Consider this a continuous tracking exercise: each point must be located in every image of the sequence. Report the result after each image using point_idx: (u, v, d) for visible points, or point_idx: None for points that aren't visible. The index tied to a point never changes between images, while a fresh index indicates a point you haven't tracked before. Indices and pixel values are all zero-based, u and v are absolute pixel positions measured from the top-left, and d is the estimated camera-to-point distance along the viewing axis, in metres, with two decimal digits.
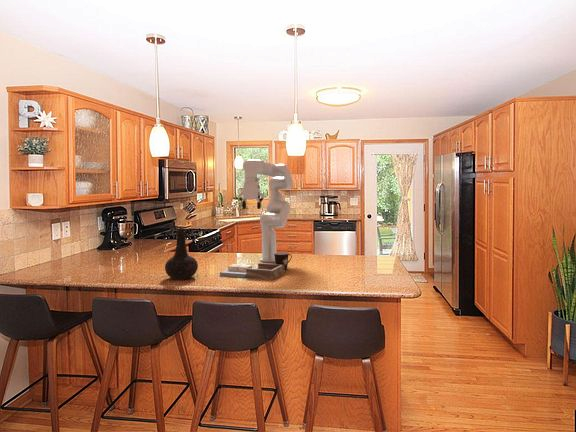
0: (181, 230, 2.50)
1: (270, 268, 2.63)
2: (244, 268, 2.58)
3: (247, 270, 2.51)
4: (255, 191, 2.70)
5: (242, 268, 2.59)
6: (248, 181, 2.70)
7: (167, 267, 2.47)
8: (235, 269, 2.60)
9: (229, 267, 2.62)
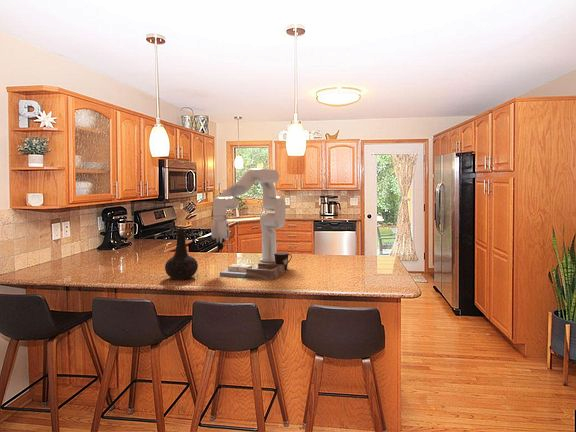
0: (181, 230, 2.50)
1: (270, 268, 2.63)
2: (244, 268, 2.58)
3: (247, 270, 2.51)
4: (223, 230, 2.61)
5: (242, 268, 2.59)
6: (216, 220, 2.61)
7: (167, 267, 2.47)
8: (235, 269, 2.60)
9: (229, 267, 2.62)
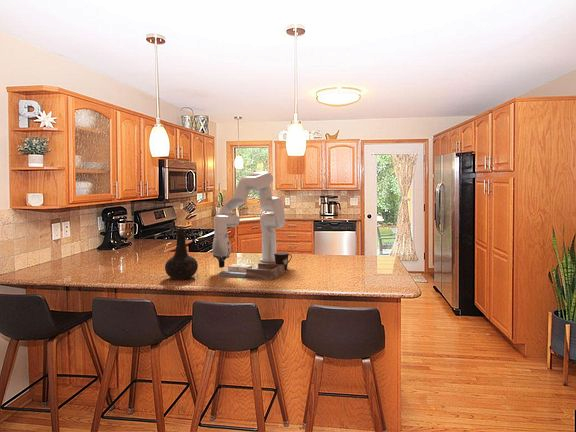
0: (181, 230, 2.50)
1: (270, 268, 2.63)
2: (244, 268, 2.58)
3: (247, 270, 2.51)
4: (225, 248, 2.62)
5: (242, 268, 2.59)
6: (217, 238, 2.62)
7: (167, 267, 2.47)
8: (235, 269, 2.60)
9: (229, 267, 2.62)
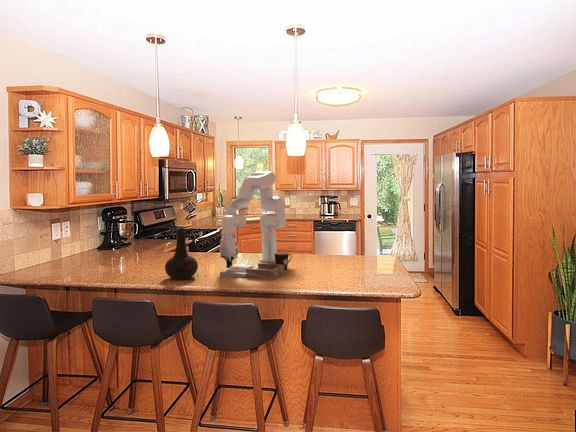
0: (181, 230, 2.50)
1: (270, 268, 2.63)
2: (245, 268, 2.58)
3: (247, 270, 2.51)
4: (232, 248, 2.61)
5: (243, 268, 2.58)
6: (225, 238, 2.60)
7: (167, 267, 2.47)
8: (237, 269, 2.60)
9: (231, 267, 2.61)
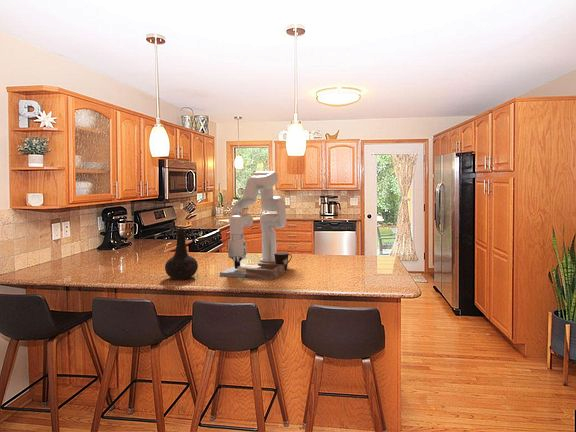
0: (181, 230, 2.50)
1: (270, 268, 2.63)
2: None
3: (247, 270, 2.51)
4: (241, 249, 2.59)
5: None
6: (233, 238, 2.58)
7: (167, 267, 2.47)
8: (245, 269, 2.58)
9: (239, 268, 2.59)
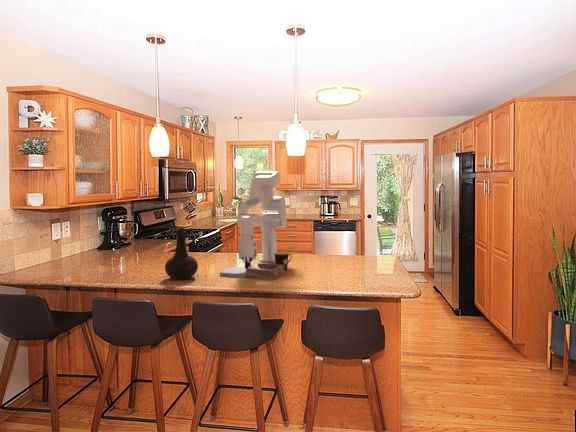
0: (181, 230, 2.50)
1: (270, 268, 2.63)
2: None
3: (247, 270, 2.51)
4: (251, 249, 2.56)
5: None
6: (244, 239, 2.56)
7: (167, 267, 2.47)
8: None
9: None
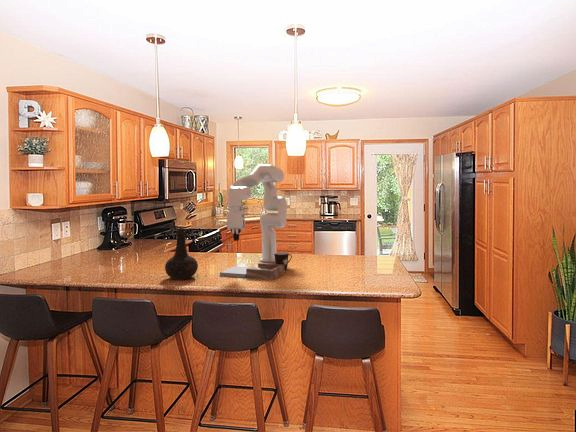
0: (181, 230, 2.50)
1: (270, 268, 2.63)
2: None
3: (247, 270, 2.51)
4: (239, 221, 2.58)
5: None
6: (232, 210, 2.57)
7: (167, 267, 2.47)
8: None
9: None
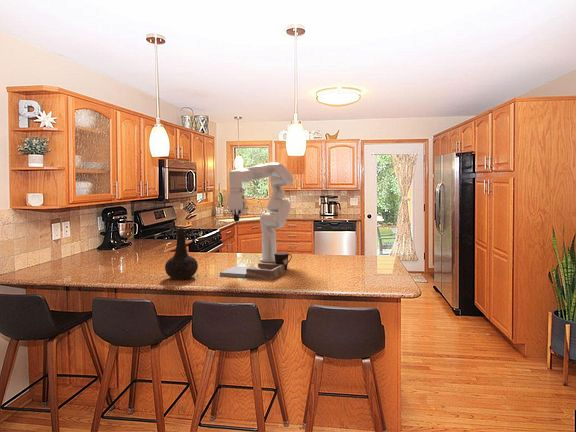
0: (181, 230, 2.50)
1: (270, 268, 2.63)
2: None
3: (247, 270, 2.51)
4: (240, 202, 2.68)
5: None
6: (232, 192, 2.68)
7: (167, 267, 2.47)
8: None
9: None
